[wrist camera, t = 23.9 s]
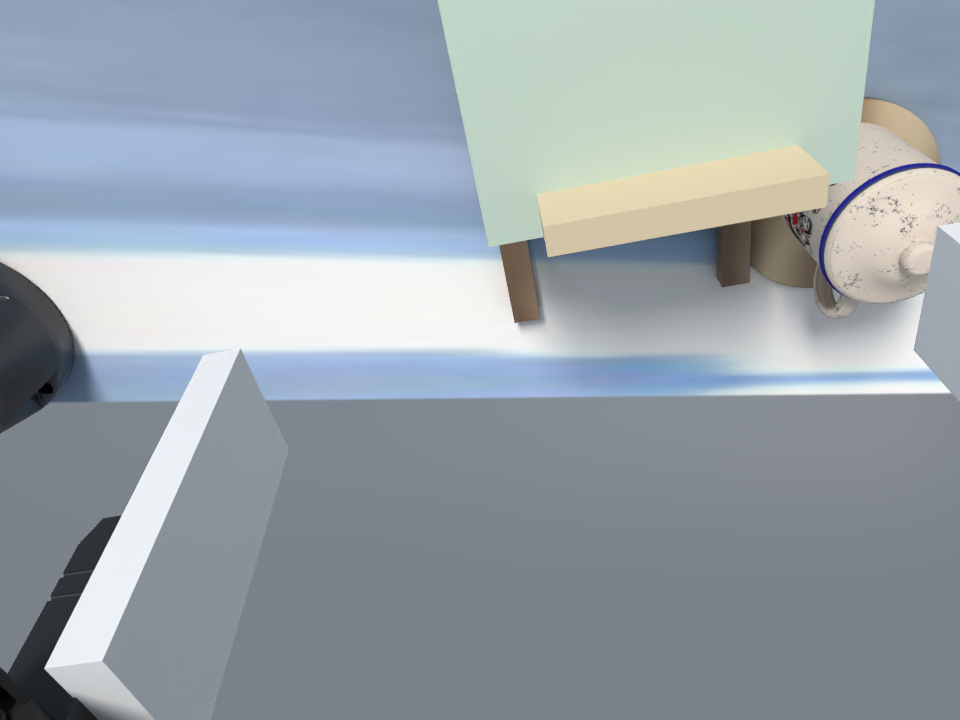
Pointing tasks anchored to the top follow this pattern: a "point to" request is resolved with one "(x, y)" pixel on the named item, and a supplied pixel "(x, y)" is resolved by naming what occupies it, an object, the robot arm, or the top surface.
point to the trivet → (776, 243)
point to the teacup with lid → (878, 224)
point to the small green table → (654, 112)
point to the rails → (522, 287)
